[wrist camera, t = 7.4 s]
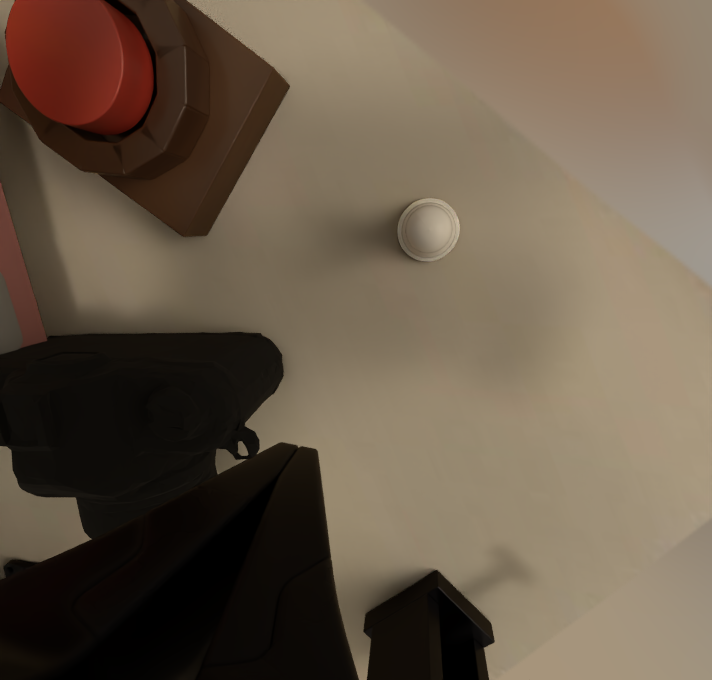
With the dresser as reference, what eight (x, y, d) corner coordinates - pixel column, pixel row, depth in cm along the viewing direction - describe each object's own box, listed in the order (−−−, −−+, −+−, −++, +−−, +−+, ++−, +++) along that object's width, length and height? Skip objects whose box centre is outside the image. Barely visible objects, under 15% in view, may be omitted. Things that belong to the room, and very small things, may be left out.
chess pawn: (422, 273, 19) (424, 289, 15) (385, 226, 19) (375, 227, 14) (471, 234, 19) (491, 237, 14) (433, 184, 18) (440, 170, 13)
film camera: (70, 476, 25) (-114, 599, 16) (37, 323, 23) (-196, 372, 14) (306, 491, 23) (238, 644, 14) (295, 322, 20) (206, 381, 12)
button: (33, 90, 16) (-12, 75, 14) (73, -24, 15) (30, -56, 13) (125, 159, 16) (92, 151, 15) (174, 52, 15) (143, 31, 13)
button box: (40, 112, 20) (-49, 86, 16) (102, -59, 17) (15, -138, 14) (207, 235, 20) (159, 239, 17) (290, 86, 18) (256, 49, 14)
